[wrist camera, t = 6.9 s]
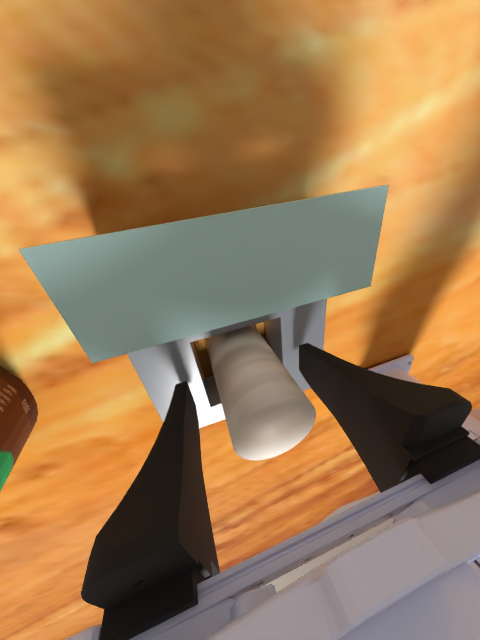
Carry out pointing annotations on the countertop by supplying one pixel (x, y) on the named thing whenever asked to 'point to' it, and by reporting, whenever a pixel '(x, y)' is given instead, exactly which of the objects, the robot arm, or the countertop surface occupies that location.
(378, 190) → the socket block
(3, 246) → the countertop surface
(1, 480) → the food container
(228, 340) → the peg
